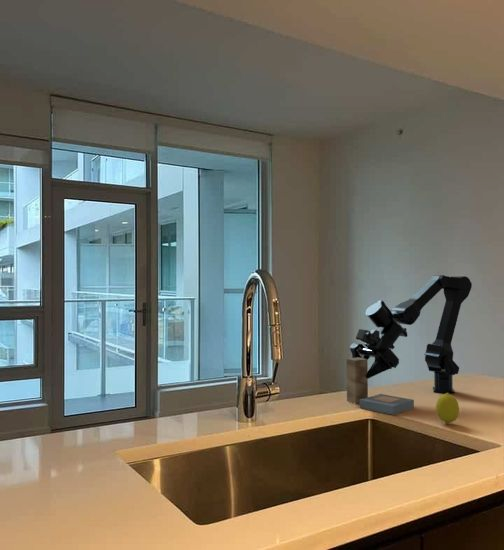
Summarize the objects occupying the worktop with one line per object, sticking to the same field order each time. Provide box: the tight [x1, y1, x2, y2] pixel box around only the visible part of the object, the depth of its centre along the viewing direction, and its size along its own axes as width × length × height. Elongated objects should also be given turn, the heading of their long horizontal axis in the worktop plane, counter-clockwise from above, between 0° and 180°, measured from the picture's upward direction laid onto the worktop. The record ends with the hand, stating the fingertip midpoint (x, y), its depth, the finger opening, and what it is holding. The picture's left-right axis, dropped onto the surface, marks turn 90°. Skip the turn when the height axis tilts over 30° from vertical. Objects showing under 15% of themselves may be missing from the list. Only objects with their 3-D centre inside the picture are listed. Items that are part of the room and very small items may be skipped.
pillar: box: [346, 357, 369, 404], centre depth 158 cm, size 4×4×13 cm
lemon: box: [435, 393, 460, 425], centre depth 132 cm, size 6×6×8 cm
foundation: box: [359, 393, 415, 416], centre depth 150 cm, size 11×11×3 cm
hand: (357, 375), depth 158 cm, fingers open, 9 cm apart
